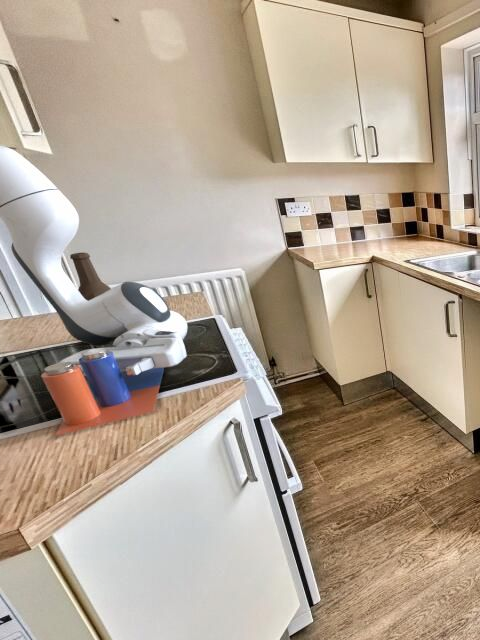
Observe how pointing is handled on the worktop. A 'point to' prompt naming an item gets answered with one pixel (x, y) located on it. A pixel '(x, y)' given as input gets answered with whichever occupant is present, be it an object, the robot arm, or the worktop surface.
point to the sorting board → (140, 402)
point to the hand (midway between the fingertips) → (102, 375)
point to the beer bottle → (88, 277)
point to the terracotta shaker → (70, 393)
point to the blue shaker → (104, 377)
